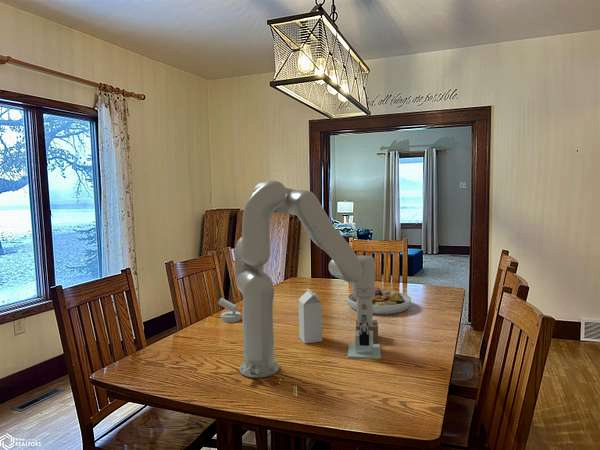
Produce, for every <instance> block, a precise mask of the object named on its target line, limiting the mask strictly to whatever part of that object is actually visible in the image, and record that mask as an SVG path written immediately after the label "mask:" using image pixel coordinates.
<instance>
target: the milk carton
mask: <svg viewBox="0 0 600 450" xmlns="http://www.w3.org/2000/svg"><path fill="white" fill-rule="evenodd" d="M298 329H299V330H298V331H299V335H298V337H299V339H300V340H301V341H302V343H304V344H311V343H312V344H313V343H319V342H323V341H324V340H323V302H322V301H321V300H319V295H318V294H317V293H315V292H313V291H312V290H310V289H309V288H306V292H305V293H303V294H302V296H301V297H299V299H298Z"/></svg>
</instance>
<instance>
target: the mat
mask: <svg viewBox="0 0 600 450" xmlns="http://www.w3.org/2000/svg"><path fill="white" fill-rule="evenodd" d="M347 358H348V359H365V360H366V359H369V360H382V353H381V344H378V343H373V354H366V353H355V343H354V342H352V343H350V342H349V343H348V349H347Z"/></svg>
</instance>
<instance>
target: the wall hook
mask: <svg viewBox="0 0 600 450" xmlns="http://www.w3.org/2000/svg"><path fill="white" fill-rule="evenodd" d="M217 304H218V305H220V306H222V307H223V308H225V309H227V310H229V311H225V312H222V313H221V314H220V321H221V322H223V323H227V324H228V323H229V324H230V323H237V322H240V321H241V320H242V316H241V314H242V313H241V312H239V311H238V309H239V308H238V306H237V305H235V304H234V303H232V302H231V301H229V300H227V299H225V298H224V297H221V298H219V300H218V301H217Z"/></svg>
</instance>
